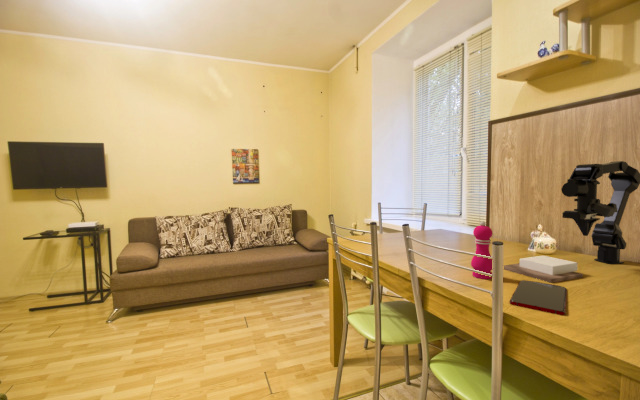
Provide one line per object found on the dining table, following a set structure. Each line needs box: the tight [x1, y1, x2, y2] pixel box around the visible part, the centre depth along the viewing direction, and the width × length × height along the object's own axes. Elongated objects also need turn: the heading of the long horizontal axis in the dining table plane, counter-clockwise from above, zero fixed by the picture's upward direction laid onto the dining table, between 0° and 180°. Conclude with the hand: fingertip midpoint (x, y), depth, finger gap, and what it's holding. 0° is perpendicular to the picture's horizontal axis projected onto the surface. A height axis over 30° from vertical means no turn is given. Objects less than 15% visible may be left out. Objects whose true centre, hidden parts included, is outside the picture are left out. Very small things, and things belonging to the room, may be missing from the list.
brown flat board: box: [503, 262, 584, 284], centre depth 111 cm, size 16×18×1 cm
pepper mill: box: [470, 220, 493, 280], centre depth 107 cm, size 7×7×20 cm
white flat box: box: [519, 255, 578, 275], centre depth 112 cm, size 3×12×13 cm
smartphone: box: [509, 279, 567, 316], centre depth 88 cm, size 12×2×25 cm
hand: (585, 235), depth 118 cm, fingers closed
